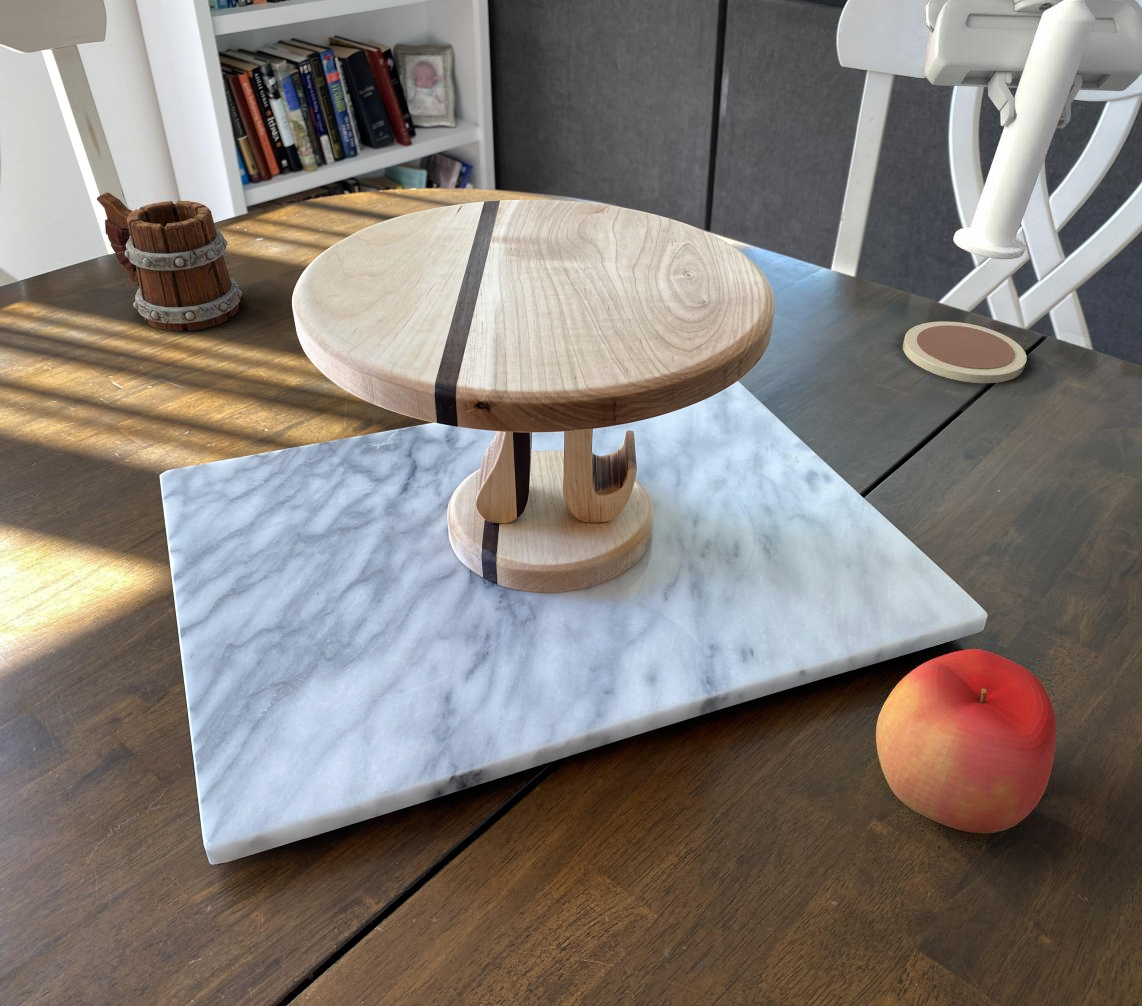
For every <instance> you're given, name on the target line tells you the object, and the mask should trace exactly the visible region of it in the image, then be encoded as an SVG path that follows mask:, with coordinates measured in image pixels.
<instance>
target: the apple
mask: <svg viewBox="0 0 1142 1006" xmlns="http://www.w3.org/2000/svg"><path fill="white" fill-rule="evenodd" d="M875 742H876V750H877V751H876V752H877V755H878V761H879V764H880V767H881V770H882V773H883V775H884V777H885V780H886V782H887V784H888V786H889V788H890V789H891V791H892V793H893V794H894V796H896V797H897V798H898V800H899V801H900V802H901V803H902V804H904V805H905V806H906V807H907V808H909V809H911V810H912V811H913V812H915V813H917V814H919V815H921V816H923V817H925V818H926V819H929V820H931V821H933V822H936V823H938V824H940V825H943V826H945V827H948V828H952V829H953V830H958V831H963V832H966V833H967V832H968V833H973V834H974V833H975V834H994V833H999V832H1002V831H1006V830H1008V829H1010V828H1012V827H1015V826H1016V825H1018V824H1019V823H1021V822H1022V821H1023V820H1025V819H1026V818H1027V817H1028V816H1029V815H1030V814H1031V813H1032V811H1034V809H1035V808H1036V807H1037V805H1038V804H1039V803H1040V801H1041V799H1042V798H1043V796H1044V793H1045V791H1046V788H1047V786H1048V783H1049V780H1050V777H1051V773H1052V769H1053V765H1054V758H1055V751H1056V742H1057V720H1056V714H1055V710H1054V707H1053V703H1052V701H1051V698H1050V696H1049V693H1048V692H1047V690H1046V688H1045V687H1044V685H1043V683H1042V682H1041V681H1040V680H1039V679H1038V677H1037V676H1036V675H1035V674H1033V672H1032V671H1030V670H1029V669H1027V668H1026V667H1024V666H1023V665H1021V664H1019V663H1017V662H1015V661H1013V660H1011V659H1008V658H1006V657H1004V656H1001V655H999V654H998V653H997V654H996V653H993V652H991V651H988V650H984V649H980V648H979V649H978V648H969V649H962V650H958V651H952V652H949V653H946V654H943V655H940V656H937V657H935V658H932V659H930V660H927V661H926V662H923V663H922V664H920V665H918V666H916V668H914V669H912V670H911V671H909V673H907V674H906V675H905V676H903V678H902V679H900V680H899V682H898V683H897V684H896V685H895V686H894V687H893V689H892V690H891V692H890V693H889V695H888V697H887V698H886V700H885V701H884V703H883V706H882V708H881V709H880V712H879V714H878V717H877V721H876V727H875Z"/></svg>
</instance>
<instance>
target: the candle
mask: <svg viewBox="0 0 1142 1006" xmlns="http://www.w3.org/2000/svg"><path fill="white" fill-rule="evenodd" d="M1094 24H1095V17H1094V16H1093V15H1092V13H1091V12H1090V10H1089V9H1088V7H1087V6H1086V4H1085V0H1063V1H1062V2H1060V3H1058V4H1057V5H1055V6H1053V7H1052V8H1050V9H1048V10H1046V11H1045V12H1043V14H1042V17H1041V20H1040V23H1039V26H1038V29H1037V32H1036V35H1035V38H1034V41H1033V44H1032V47H1031V50H1030V53H1029V56H1028V58H1027V61H1026V64H1025V67H1024V70H1023V73H1022V76H1021V79H1020V82H1019V85H1018V88H1016V92H1015V95H1014V96H1013V97H1014V99H1015V109H1016V113H1017V117H1016V119H1015V121H1013V122H1012V123H1011V124H1009V125H1008V126H1003V130H1002V133H1001V135H1000V139H999V141H998V145H997V148H996V151H995V154H994V157H993V160H992V163H991V165H990V169H989V171H988V175H987V177H986V180H985V183H984V186H983V189H982V192H981V195H980V199H979V201H978V203H977V207H976V210H975V213H974V216H973V220H972V221H971V224H970V227H964V228H959V229H957V230H956V231H955V233H954V234H953V243H954V244H955V245H956V246H957V247H959V248H960V249H962V250H963V251H965V252H968V253H970V254H973V255H977V256H979V257H984V258H990V259H995V260H1014V259H1019V258H1021V257H1023V256H1024V254H1025V253H1026V252H1025V251H1026V248H1027V247H1026V244H1025V243H1024V242H1023V241H1022V240H1021V239H1019V238H1018V237H1017V235H1018V232H1019V230H1020V227H1021V224H1022V221H1023V219H1024V217H1025V213H1026V210H1027V208H1028V205H1029V204H1030V203H1029V202H1030V200H1031V197H1032V195H1033V192H1034V189H1035V186H1036V184H1037V182H1038V179H1039V175H1040V174H1041V173H1040V172H1041V170H1042V166H1043V164H1044V162H1045V160H1046V157H1047V154H1048V151H1049V148H1050V146H1051V143H1052V140H1053V137H1054V135H1055V132H1056V130H1057V128H1056V127H1057V124H1058V121H1059V119H1060V116H1061V113H1062V111H1063V108H1064V105H1065V102H1066V100H1067V97H1068V94H1069V92H1070V89H1071V86H1072V83H1073V81H1074V78H1075V75H1076V73H1077V70H1078V67H1079V64H1080V62H1081V59H1082V56H1083V54H1084V51H1085V48H1086V45H1087V43H1088V40H1089V37H1090V35H1091V32H1092V29H1093V26H1094Z"/></svg>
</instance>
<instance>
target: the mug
mask: <svg viewBox="0 0 1142 1006" xmlns="http://www.w3.org/2000/svg"><path fill="white" fill-rule="evenodd" d="M96 201H97V202H98V203H99V204H100V205H101V206H102V208H103V209H104V212H105V215H106V219H105V220H104V229H105V231H104V232H105V235H107V239H108V241H109V242H110V247H111V249H112V250H113V252H114V253H115V256H116V258H117V260H118V263H119V264H120V265H122V266H123V268H124V269H125V270H126V274H127V277H128V280H129V283H130V284H132V285H135V286H136V287H139V288H138V289H137V291H136V294H135V295H134V300H135V301H134V302H133V304H132V305H133V308H135V310H137V311H138V313H139V315H140V316H141V317H143V318H144V320H145V322H146V323H147V324H148V325H150V326H151V327H152V328H155V329H160V330H164V331H170V332H173V331H174V332H182V331H185V329H186V330H188V331H195V330H202V329H203V330H204V329H207V328H211V327H213V326H214V327H215V326H217V325H220V324H221V323H224V322H226V321H228V320H229V318H232V317H234V316H235V315H236V314H237V313H238V312H239V307H240V304H239V303H240V302H241V297H242V295H243V292H242V290H241V289H240V287H239V284H238V282H237V281H236V280H235V278H234V277H231V276H230V273H229V270H228V268H227V264H226V260H225V256H224V254H225V252H226V249H227V246H228V240H227V239H226V238H225V237H224V234H223V233H222V231H221V230H220V229H219V228H216V225H215V221H214V217H213V213H212V211H211V209H210V208H209V207H208V206H206V205H205V204H203V203H200V202H197V201H191V200H176V203H174V202H173V201H172V200H168V201H160V202H154V203H149V204H146V205H143V206H140V207H139V209H137V208H136V209H134V210H132V209H130V208H128V207H127V206H126V204H124V203H123V202H122V200H120V199H119V198H118V197H116V196H115V195H113V194H112V193H110V192H108V191H106V192H104V193H102V194H100V195H99V196H97V197H96Z"/></svg>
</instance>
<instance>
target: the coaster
mask: <svg viewBox="0 0 1142 1006" xmlns="http://www.w3.org/2000/svg"><path fill="white" fill-rule="evenodd" d="M902 350H903V352H904V354H905V355H906V357H907V358H908V359H909V361H911V362H912V363H913V364H915V365H917V366H918V367H920V368H922V369H923V370H925V371H927V372H930V373H932V374H934V375H937V376H940V377H942V378H947V379H949V380H953V381H954V380H955V381H959V382H965V383H973V384H996V383H997V384H998V383H1003V382H1007V381H1011V380H1014V379H1015V378H1017V377H1019V376H1020V375H1021V374H1022V373H1023V372H1024V369H1025V367H1026V363H1027V360H1028V358H1027V353H1026V351H1025V350H1024V348H1023V347H1022V346H1021V345H1020V343H1018V342H1016V341H1015V340H1013V338H1011V337H1009V336H1007V335H1005V334H1003V333H1001V332H998V331H996V330H994V329H990V328H987V327H984V326H981V325H976V324H972V323H967V322H958V321H945V320H944V321H930V322H924V323H921V324H917V325H915V326H913V327H910V328H909V330H908V331H906V333H905V336H904V339H903V341H902Z"/></svg>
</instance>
